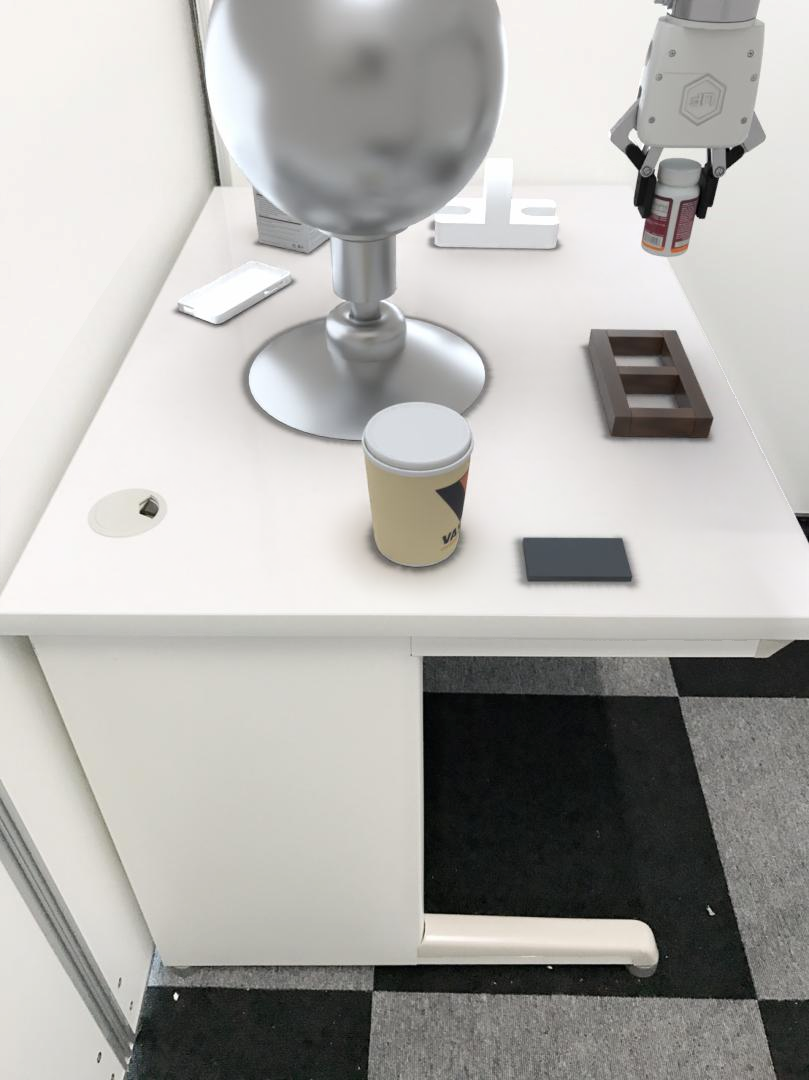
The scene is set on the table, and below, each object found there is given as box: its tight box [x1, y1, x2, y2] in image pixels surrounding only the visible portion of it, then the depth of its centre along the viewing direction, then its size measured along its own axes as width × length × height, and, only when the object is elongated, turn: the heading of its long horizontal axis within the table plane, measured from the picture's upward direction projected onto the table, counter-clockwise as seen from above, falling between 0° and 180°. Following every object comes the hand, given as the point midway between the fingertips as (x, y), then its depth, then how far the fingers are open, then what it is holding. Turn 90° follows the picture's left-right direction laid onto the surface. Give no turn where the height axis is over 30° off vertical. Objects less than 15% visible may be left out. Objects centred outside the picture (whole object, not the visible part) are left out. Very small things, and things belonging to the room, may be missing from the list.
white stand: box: [434, 158, 560, 250], centre depth 125 cm, size 10×18×11 cm, turn 88°
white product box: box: [251, 184, 330, 254], centre depth 123 cm, size 9×9×15 cm
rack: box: [587, 328, 714, 438], centre depth 96 cm, size 10×19×2 cm, turn 178°
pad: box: [522, 537, 633, 582], centre depth 76 cm, size 9×5×1 cm, turn 89°
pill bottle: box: [640, 157, 703, 258], centre depth 85 cm, size 5×5×8 cm
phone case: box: [177, 260, 292, 325], centre depth 113 cm, size 7×1×15 cm
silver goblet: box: [204, 0, 509, 441], centre depth 85 cm, size 28×28×45 cm
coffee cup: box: [361, 402, 475, 568], centre depth 74 cm, size 9×9×12 cm
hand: (670, 211), depth 85 cm, fingers closed on pill bottle, 4 cm apart
